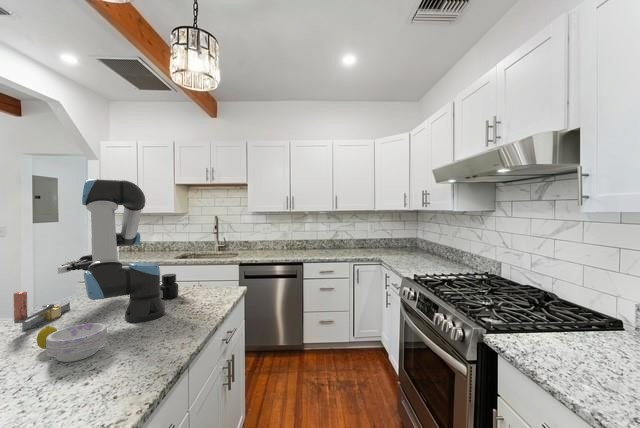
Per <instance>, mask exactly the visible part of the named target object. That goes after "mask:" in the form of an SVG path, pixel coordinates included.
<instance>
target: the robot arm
mask: <svg viewBox="0 0 640 428" xmlns="http://www.w3.org/2000/svg"><path fill="white" fill-rule="evenodd" d="M81 201H82V202H81V204H82V206H85V207H86V210H88V211H89V213H90V224H91V227H90V228H91V229H90V230H91V231H90V232H91V253H90V254H87V255H82V257H80V258H79V259H78V260H76V261H74V262H70V261H67V262H65V263H63V264H61V265H60V266H57V274H59V275H60V274H65V273H70V272H71V271H76V270H77V271H80V270H82V271H84V272H83V279H84V286H85V290H86V295H87V298H88V299H89V300H91V301H97V300H105V299H110V298H111V299H112V298H117V297H124V296H129V300H128V305H127V307H126V310H125V313H124V320H125V321H126V322H129V323H143V322H149V321H152V320H156V319H159V318H162V317H163V316H164V315H165V312H166V309H165V306H164V302H163V300H161V297H160V285H161V276H162V275H161V268H160V265H158V264H157V263H152V262H146V261H145V262H130V263H129V264H128V266H127V267H123V263H122V262H121V261H120V260H119V259H118V247H130V246H131V247H132V246H139V245H140V244H141V233H140V232H139V231H138V229H139V225H140V220H141V215H142V210H143V209H144V208H145V206H146V195H145V194H144V191H143V190H142V189H141V188H140V187H139V185H137V184H135V183H133V182H132V181H130V180H129V181H128V180H123V179H121V180H119V179H118V180H116V179H99V178H96V179H93V178H90V179H86V180H85V182H84V184H83V189H82V198H81ZM119 206H123V215H122V223H121V230H120V232H116V231H117V230H116V213H115V212H116V211H117V210H118V209H119Z"/></svg>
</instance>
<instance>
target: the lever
mask: <svg viewBox="0 0 640 428" xmlns="http://www.w3.org/2000/svg"><path fill="white" fill-rule="evenodd" d="M12 296H13V321H14V323H13V324H22V323H23V322H25V321H27V320H28V319H30V318H32V317H34V316H36V315H38V314H40V313H42V312H44V311H46V310H48V309H52V308H54V306H55V304H54V303H50V304H49V303H48V304H44V305H42V306H41V307H40V308H38V309H36V310H35V311H32V312H30V313H28V291H19V292H17V291H16V292H14V293H13V295H12Z"/></svg>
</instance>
